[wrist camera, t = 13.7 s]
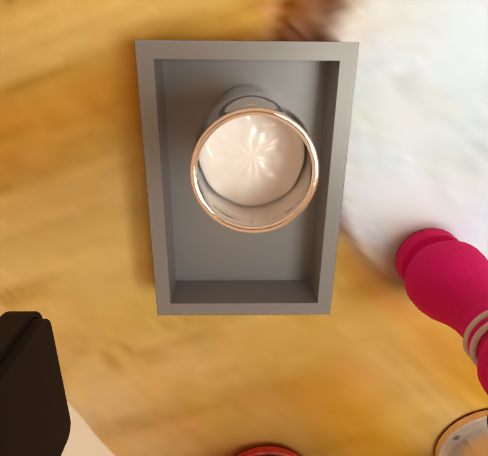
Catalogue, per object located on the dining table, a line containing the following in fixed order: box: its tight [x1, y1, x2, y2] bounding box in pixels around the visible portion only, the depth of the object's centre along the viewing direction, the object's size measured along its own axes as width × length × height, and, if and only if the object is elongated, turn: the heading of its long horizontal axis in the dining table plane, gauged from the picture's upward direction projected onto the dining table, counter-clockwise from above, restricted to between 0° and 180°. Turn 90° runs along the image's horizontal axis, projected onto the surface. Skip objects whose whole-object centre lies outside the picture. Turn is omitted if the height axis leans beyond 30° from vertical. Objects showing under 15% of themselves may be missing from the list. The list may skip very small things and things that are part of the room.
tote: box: [135, 40, 359, 315], centre depth 36 cm, size 22×15×5 cm
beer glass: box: [190, 86, 319, 233], centre depth 28 cm, size 7×7×15 cm
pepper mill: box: [396, 229, 488, 394], centre depth 33 cm, size 7×7×20 cm
